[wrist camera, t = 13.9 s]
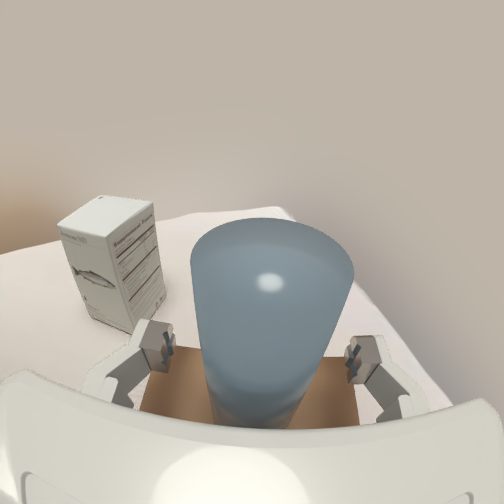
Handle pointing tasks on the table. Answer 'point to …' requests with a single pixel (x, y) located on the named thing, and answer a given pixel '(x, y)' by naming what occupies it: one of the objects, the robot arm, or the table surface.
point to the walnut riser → (198, 405)
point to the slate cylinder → (265, 315)
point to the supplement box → (115, 259)
